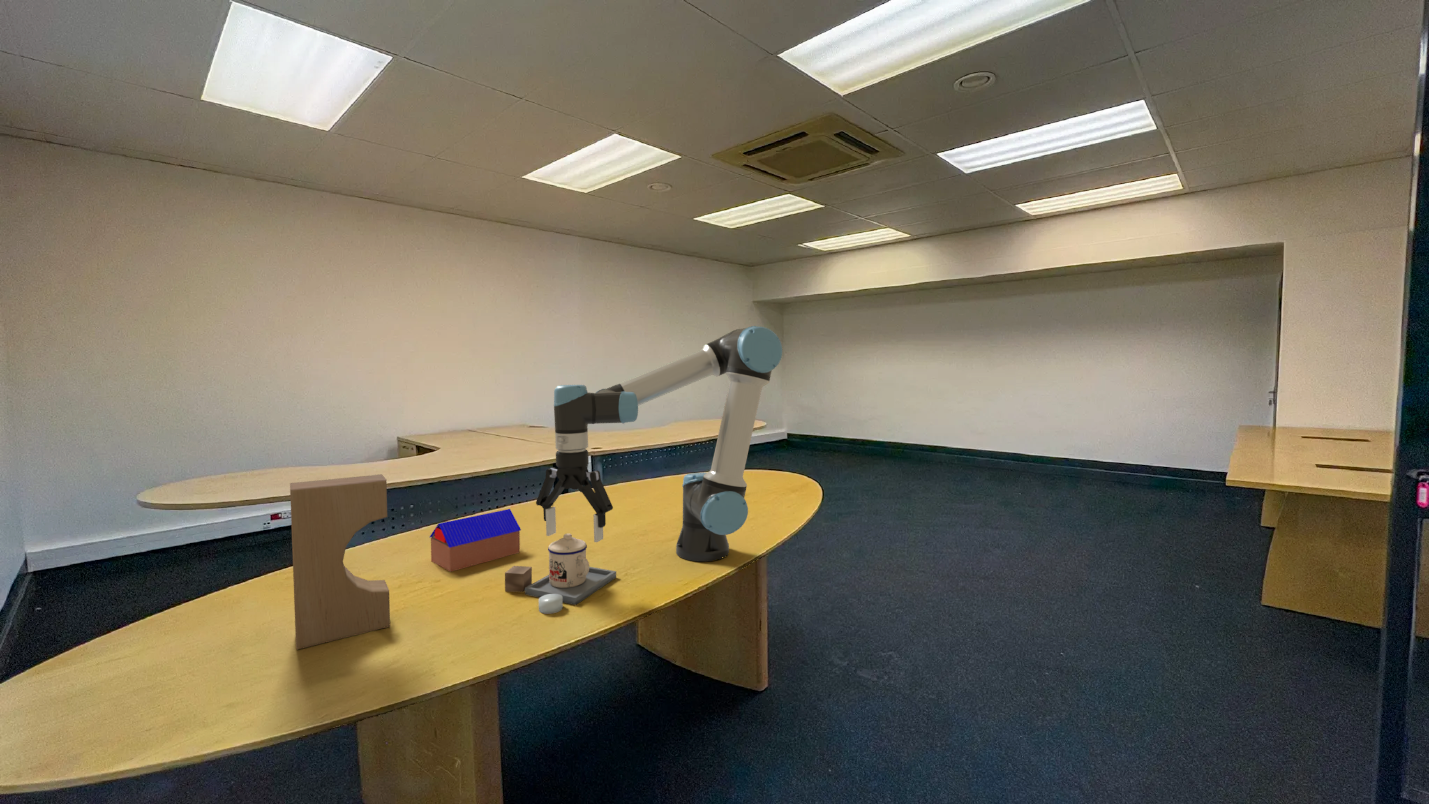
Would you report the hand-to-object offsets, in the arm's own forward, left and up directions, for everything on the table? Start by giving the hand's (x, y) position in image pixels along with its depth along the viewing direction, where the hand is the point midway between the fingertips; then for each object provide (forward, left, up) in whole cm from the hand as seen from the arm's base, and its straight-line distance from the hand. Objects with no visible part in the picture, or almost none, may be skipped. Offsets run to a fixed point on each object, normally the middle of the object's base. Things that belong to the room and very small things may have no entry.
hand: (574, 537), depth 129 cm
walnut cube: (+11, +6, -12) cm, 18 cm away
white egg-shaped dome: (-3, +12, -12) cm, 17 cm away
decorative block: (+28, +36, -12) cm, 48 cm away
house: (+36, -6, -12) cm, 39 cm away
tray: (0, 0, -12) cm, 12 cm away
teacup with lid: (+1, 0, -11) cm, 11 cm away
